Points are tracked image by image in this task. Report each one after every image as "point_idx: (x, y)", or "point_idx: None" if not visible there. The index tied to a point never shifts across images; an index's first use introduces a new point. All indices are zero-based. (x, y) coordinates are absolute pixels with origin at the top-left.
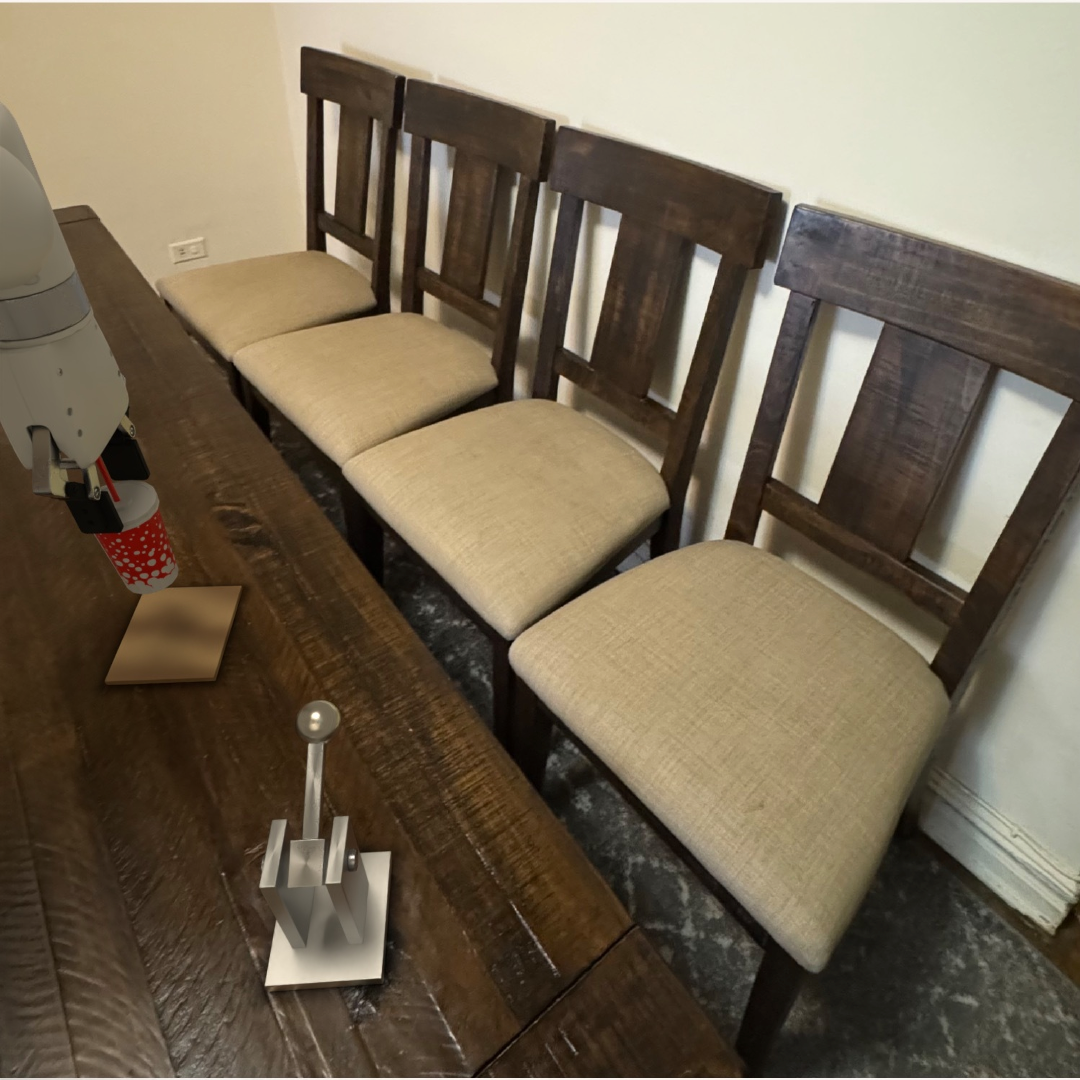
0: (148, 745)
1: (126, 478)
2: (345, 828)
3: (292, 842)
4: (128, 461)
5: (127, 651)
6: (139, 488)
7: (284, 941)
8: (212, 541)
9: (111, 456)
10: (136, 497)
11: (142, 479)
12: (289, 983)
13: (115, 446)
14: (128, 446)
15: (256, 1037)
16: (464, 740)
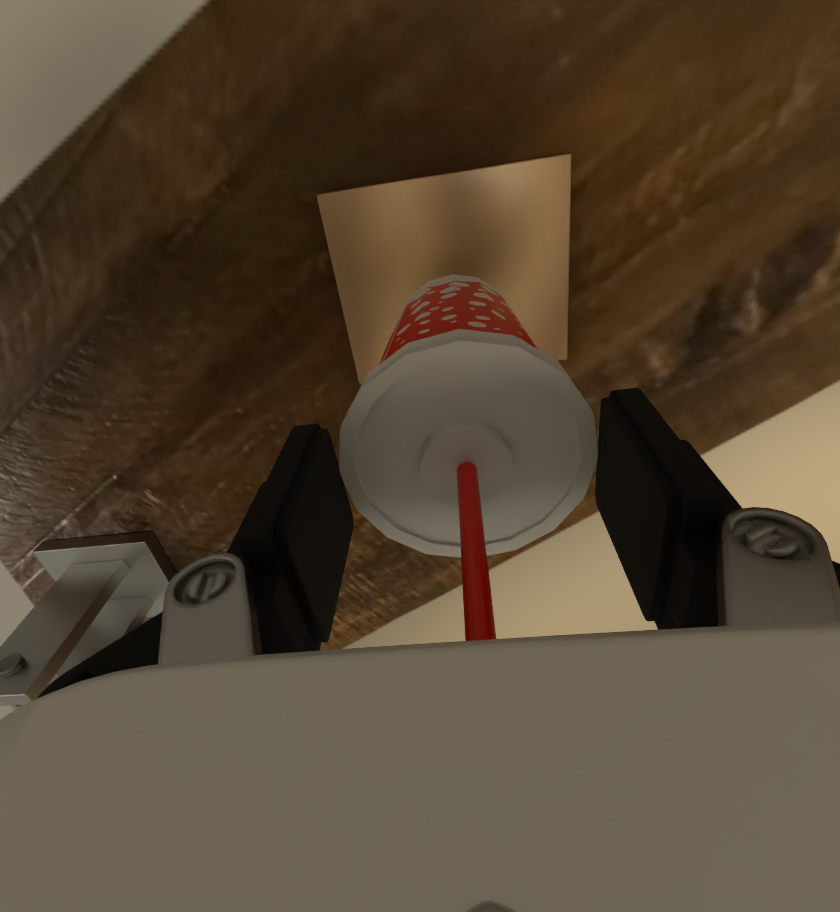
0: (230, 326)
1: (600, 448)
2: None
3: (17, 707)
4: (623, 530)
5: (391, 205)
6: (552, 489)
7: (73, 557)
8: (723, 241)
9: (637, 501)
10: (501, 499)
11: (596, 490)
12: (45, 568)
13: (656, 568)
14: (649, 608)
15: (9, 541)
16: (330, 637)
